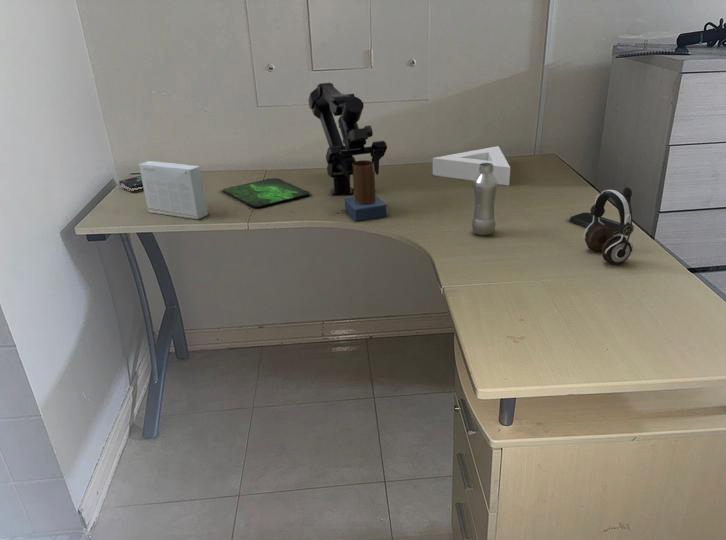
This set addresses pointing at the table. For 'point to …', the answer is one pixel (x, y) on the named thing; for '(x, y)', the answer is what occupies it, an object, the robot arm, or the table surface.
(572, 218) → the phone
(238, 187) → the mouse mat
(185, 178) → the skincare box
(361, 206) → the box
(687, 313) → the table surface
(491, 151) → the triangle block
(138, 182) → the disk drive
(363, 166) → the brown wooden cylinder
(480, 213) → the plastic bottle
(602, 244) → the headset
